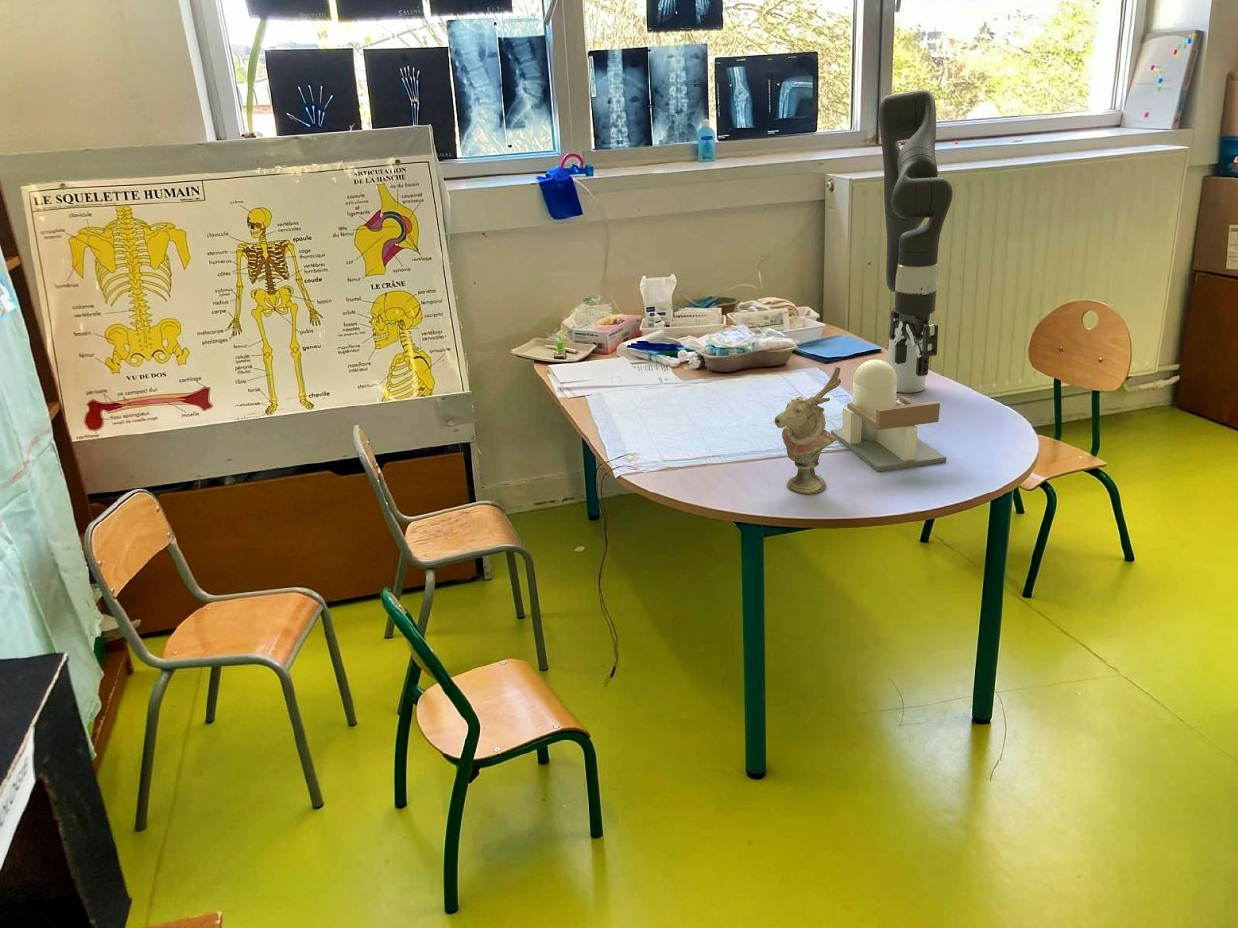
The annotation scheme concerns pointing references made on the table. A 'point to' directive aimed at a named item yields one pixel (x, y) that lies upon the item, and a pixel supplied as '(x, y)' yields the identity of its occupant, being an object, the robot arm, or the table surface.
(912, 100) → the robot arm
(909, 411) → the brown u-shaped frame
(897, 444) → the bracket-mounted cylinder
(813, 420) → the decorative bust
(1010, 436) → the table surface
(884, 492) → the table surface
